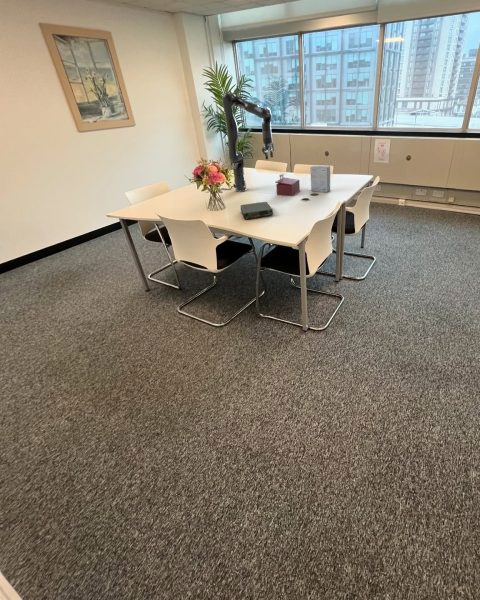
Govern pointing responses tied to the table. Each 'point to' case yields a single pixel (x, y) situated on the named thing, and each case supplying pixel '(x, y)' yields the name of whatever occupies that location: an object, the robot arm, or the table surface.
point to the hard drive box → (320, 178)
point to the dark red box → (288, 189)
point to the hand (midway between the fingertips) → (269, 158)
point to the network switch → (256, 210)
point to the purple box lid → (286, 180)
